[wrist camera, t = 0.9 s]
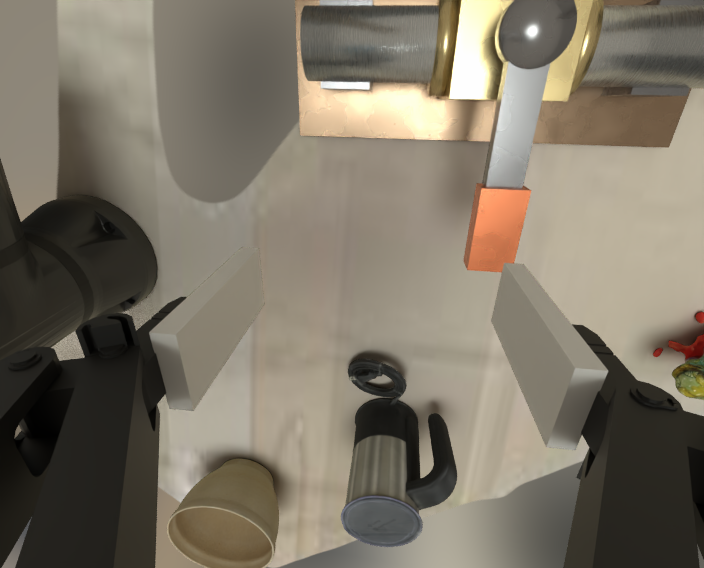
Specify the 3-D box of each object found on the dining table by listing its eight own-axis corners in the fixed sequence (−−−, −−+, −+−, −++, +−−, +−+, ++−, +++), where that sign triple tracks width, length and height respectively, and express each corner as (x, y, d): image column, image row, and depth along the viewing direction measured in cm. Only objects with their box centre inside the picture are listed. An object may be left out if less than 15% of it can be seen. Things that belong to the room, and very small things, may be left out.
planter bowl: (312, 483, 62) (296, 553, 52) (254, 516, 68) (230, 585, 58) (239, 428, 58) (207, 493, 48) (184, 468, 64) (146, 533, 54)
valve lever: (502, -9, 21) (510, -18, 20) (573, -9, 21) (588, -19, 19) (458, 260, 29) (461, 269, 27) (510, 263, 29) (517, 273, 27)
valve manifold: (303, 134, 38) (265, 146, 27) (297, -42, 31) (245, -118, 21) (658, 145, 34) (775, 164, 24) (729, -48, 28) (932, -141, 17)
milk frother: (386, 452, 57) (382, 558, 43) (308, 394, 53) (278, 490, 40) (457, 405, 51) (477, 511, 38) (374, 337, 48) (365, 427, 34)
